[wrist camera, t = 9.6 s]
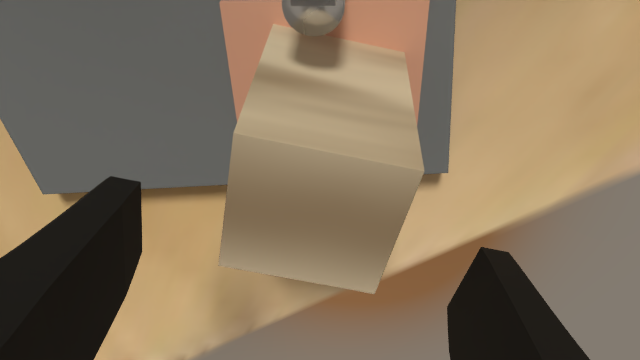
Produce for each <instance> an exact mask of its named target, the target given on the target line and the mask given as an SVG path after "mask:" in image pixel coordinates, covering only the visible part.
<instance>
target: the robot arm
mask: <svg viewBox="0 0 640 360" xmlns="http://www.w3.org/2000/svg"><path fill="white" fill-rule="evenodd" d="M141 253H142V216H141V182H139V181H134V180H129V179H123V178H118V177H113V176H110V177H108V178H107V179H105V180H104V181H103V182H101V183H100V184H99V185H97V186H96V187H95V188H94V189H92V190H91V191H90V192H89V193H87V194H86V195H85V196H84V197H82V198H81V199H80V200H79V201H77V202H76V203H75V204H74V205H72V206H71V207H70V208H69V209H67V210H66V211H65V212H63V213H62V214H61V215H60V216H58V217H57V218H56V219H54V220H53V221H52V222H50V223H49V224H48V225H46V226H45V227H44V228H42V229H41V230H39V231H38V232H37V233H35V234H34V235H33V236H31V237H30V238H29V239H27V240H26V241H25V242H23V243H22V244H20V245H19V246H18V247H16V248H15V249H13V250H12V251H10V252H9V253H7V254H6V255H4V256H3V257H1V258H0V360H94V358H95V356H96V354H97V352H98V350H99V348H100V346H101V344H102V342H103V340H104V338H105V336H106V334H107V333H108V331H109V329H110V327H111V325H112V323H113V321H114V319H115V317H116V315H117V313H118V311H119V309H120V307H121V305H122V303H123V301H124V299H125V297H126V294H127V292H128V289H129V287H130V284H131V281H132V279H133V276H134V273H135V270H136V267H137V265H138V262H139V259H140V256H141ZM447 314H448V337H449V338H448V339H449V353H450V359H451V360H590V359H589V358H588V357H587V355H586V354H585V353H584V352H583V350H582V349H581V348H580V347H579V345H578V344H577V343H576V341H575V340H574V339H573V338H572V337H571V335H570V334H569V333H568V331H567V330H566V329H565V327H564V326H563V325H562V323H561V322H560V321H559V319H558V318H557V317H556V315H555V314H554V313H553V311H552V310H551V309H550V307H549V306H548V305H547V303H546V302H545V301H544V299H543V298H542V296H541V295H540V294H539V292H538V291H537V290H536V288H535V287H534V285H533V284H532V283H531V281H530V280H529V279H528V277H527V276H526V275H525V273H524V272H523V271H522V269H521V268H520V266H519V265H518V264H517V263H516V261H515V260H514V259H513V257H512V256H511V255H510V254H509V252H504V251H499V250H494V249H488V248H484V247H481V248H480V250H479V252H478V253H477V255H476V257H475V259H474V260H473V262H472V264H471V266H470V268H469V269H468V271H467V273H466V275H465V276H464V279H463V280H462V282H461V283H460V285H459V287H458V289H457V291H456V292H455V294H454V296H453V298H452V299H451V302H450V303H449V305H448V307H447Z"/></svg>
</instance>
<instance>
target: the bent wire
mask: <svg viewBox="0 0 640 360" xmlns="http://www.w3.org/2000/svg"><path fill="white" fill-rule="evenodd" d="M344 9H345V0H282V10H283V14H284V17H285V19H286V21H287V22H288V24H289V25H290V26H291V27H292V28H293V29H294V30H296V31H297V32H299V33H301V34H304V35H307V36H322V35H325V34H327V33H329V32H331V31H332V30H334V29H335V28H336V27H337V26H338V24H339V23H340V21H341V20H342V17H343V14H344Z"/></svg>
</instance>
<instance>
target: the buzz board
mask: <svg viewBox="0 0 640 360" xmlns="http://www.w3.org/2000/svg"><path fill="white" fill-rule="evenodd" d="M455 12H456V0H345V9H344V14H343V17H342V20H341V21H340V23H339V24H338V26H337V27H336V28H335V29H334V30H332V31H331V32H329V33H327V34H325V35H327V36H332V37H336V38H341V39H346V40H350V41H355V42H359V43H364V44H369V45H373V46H378V47H382V48H387V49H392V50H396V51H401V52H405V58H406V64H407V70H408V76H409V82H410V88H411V94H412V100H413V105H414V111H415V117H416V123H417V129H418V135H419V141H420V147H421V153H422V159H423V165H424V174H436V173H448V164H449V143H450V121H451V99H452V77H453V55H454V34H455ZM273 24H276V25H281V26H286V27H290V28H292V27H291V26H290V25H289V24H288V22H287V21H286V19H285V17H284V14H283V10H282V0H0V119H1V121H2V122H3V124H4V126H5V128H6V129H7V131H8V133H9V135H10V137H11V138H12V140H13V142H14V144H15V145H16V147H17V149H18V151H19V153H20V154H21V156H22V158H23V160H24V161H25V163H26V165H27V167H28V169H29V170H30V172H31V174H32V176H33V177H34V179H35V181H36V183H37V184H38V186H39V188H40V190H41V192H42V193H43V194H59V193H78V192H90V191H91V190H92V189H94V188H95V187H96V186H97V185H99V184H100V183H101V182H103V181H104V180H105V179H107V178H108V177H110V176H113V177H118V178H123V179H129V180H134V181H139V182H141V189H153V188H172V187H191V186H210V185H228V176H229V167H230V158H231V149H232V140H233V133H234V130H235V127H236V124H237V122H238V119H239V116H240V113H241V111H242V108H243V105H244V102H245V100H246V97H247V94H248V91H249V89H250V86H251V83H252V80H253V78H254V75H255V72H256V69H257V67H258V64H259V61H260V58H261V56H262V53H263V50H264V47H265V45H266V42H267V39H268V37H269V34H270V31H271V28H272V26H273Z"/></svg>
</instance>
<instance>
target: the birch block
mask: <svg viewBox="0 0 640 360" xmlns="http://www.w3.org/2000/svg"><path fill="white" fill-rule="evenodd" d="M423 174H424V165H423V159H422V153H421V147H420V141H419V135H418V129H417V123H416V117H415V111H414V105H413V100H412V94H411V88H410V82H409V76H408V70H407V64H406V58H405V52H401V51H396V50H392V49H387V48H382V47H378V46H373V45H369V44H364V43H359V42H355V41H350V40H346V39H341V38H336V37H332V36H327V35H322V36H307V35H304V34H301V33H299V32H297V31H296V30H294V29H293V28H290V27H286V26H281V25H276V24H273V26H272V28H271V31H270V34H269V37H268V39H267V42H266V45H265V47H264V50H263V53H262V56H261V58H260V61H259V64H258V67H257V69H256V72H255V75H254V78H253V80H252V83H251V86H250V89H249V91H248V94H247V97H246V100H245V102H244V105H243V108H242V111H241V113H240V116H239V119H238V122H237V124H236V127H235V130H234V133H233V140H232V149H231V158H230V167H229V176H228V185H227V194H226V203H225V212H224V221H223V230H222V239H221V248H220V256H219V265H218V266H223V267H228V268H234V269H239V270H245V271H250V272H256V273H261V274H267V275H272V276H278V277H284V278H289V279H295V280H300V281H306V282H311V283H317V284H322V285H328V286H333V287H339V288H344V289H350V290H355V291H361V292H366V293H372V294H375V291H376V289H377V286H378V284H379V282H380V279H381V277H382V274H383V272H384V269H385V267H386V264H387V262H388V260H389V257H390V255H391V252H392V250H393V247H394V245H395V242H396V240H397V238H398V235H399V233H400V230H401V228H402V225H403V223H404V220H405V218H406V216H407V213H408V211H409V208H410V206H411V203H412V201H413V198H414V196H415V193H416V191H417V189H418V186H419V184H420V181H421V179H422V176H423Z"/></svg>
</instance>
